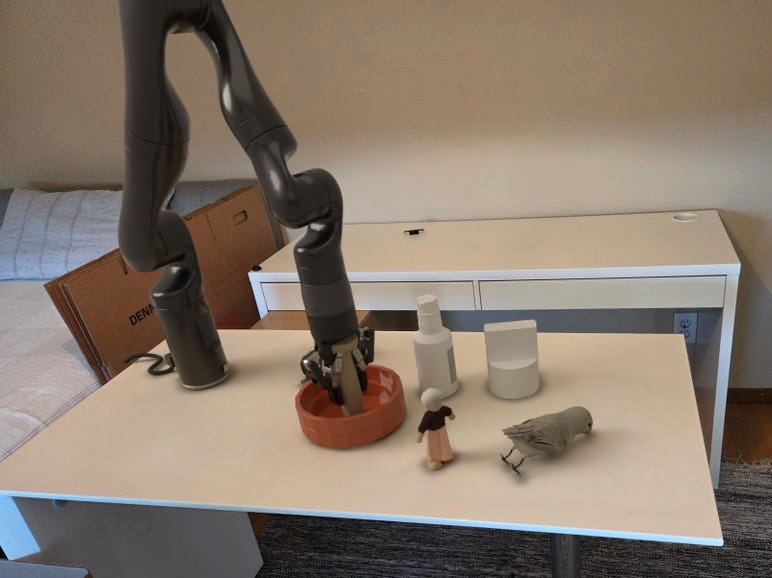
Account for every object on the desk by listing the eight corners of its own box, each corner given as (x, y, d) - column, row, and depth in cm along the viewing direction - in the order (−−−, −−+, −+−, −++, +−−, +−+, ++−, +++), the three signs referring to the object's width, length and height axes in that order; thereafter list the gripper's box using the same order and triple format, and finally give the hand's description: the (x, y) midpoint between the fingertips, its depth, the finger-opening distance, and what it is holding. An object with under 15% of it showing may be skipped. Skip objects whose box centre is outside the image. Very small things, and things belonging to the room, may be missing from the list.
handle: (364, 426, 105) (346, 347, 98) (331, 421, 107) (311, 343, 100) (377, 410, 109) (362, 333, 102) (345, 406, 111) (328, 329, 104)
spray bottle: (466, 386, 115) (455, 295, 106) (438, 403, 111) (425, 310, 102) (440, 375, 119) (427, 287, 110) (413, 391, 115) (398, 301, 106)
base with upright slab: (536, 370, 118) (533, 312, 112) (542, 396, 110) (539, 335, 104) (488, 375, 118) (482, 316, 112) (490, 401, 110) (484, 340, 104)
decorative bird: (602, 441, 97) (602, 400, 94) (516, 483, 91) (512, 441, 87) (579, 425, 101) (578, 385, 98) (495, 464, 95) (491, 423, 91)
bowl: (282, 430, 108) (273, 400, 105) (359, 383, 120) (353, 355, 117) (350, 465, 98) (342, 433, 95) (427, 410, 109) (423, 380, 106)
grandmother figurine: (437, 477, 93) (426, 405, 87) (417, 470, 95) (404, 399, 89) (466, 448, 99) (457, 378, 93) (446, 442, 101) (436, 373, 95)
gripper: (348, 283, 105) (366, 372, 113) (276, 316, 96) (302, 411, 104) (379, 291, 101) (396, 383, 109) (307, 327, 91) (331, 424, 99)
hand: (350, 396), depth 106 cm, fingers open, 4 cm apart
